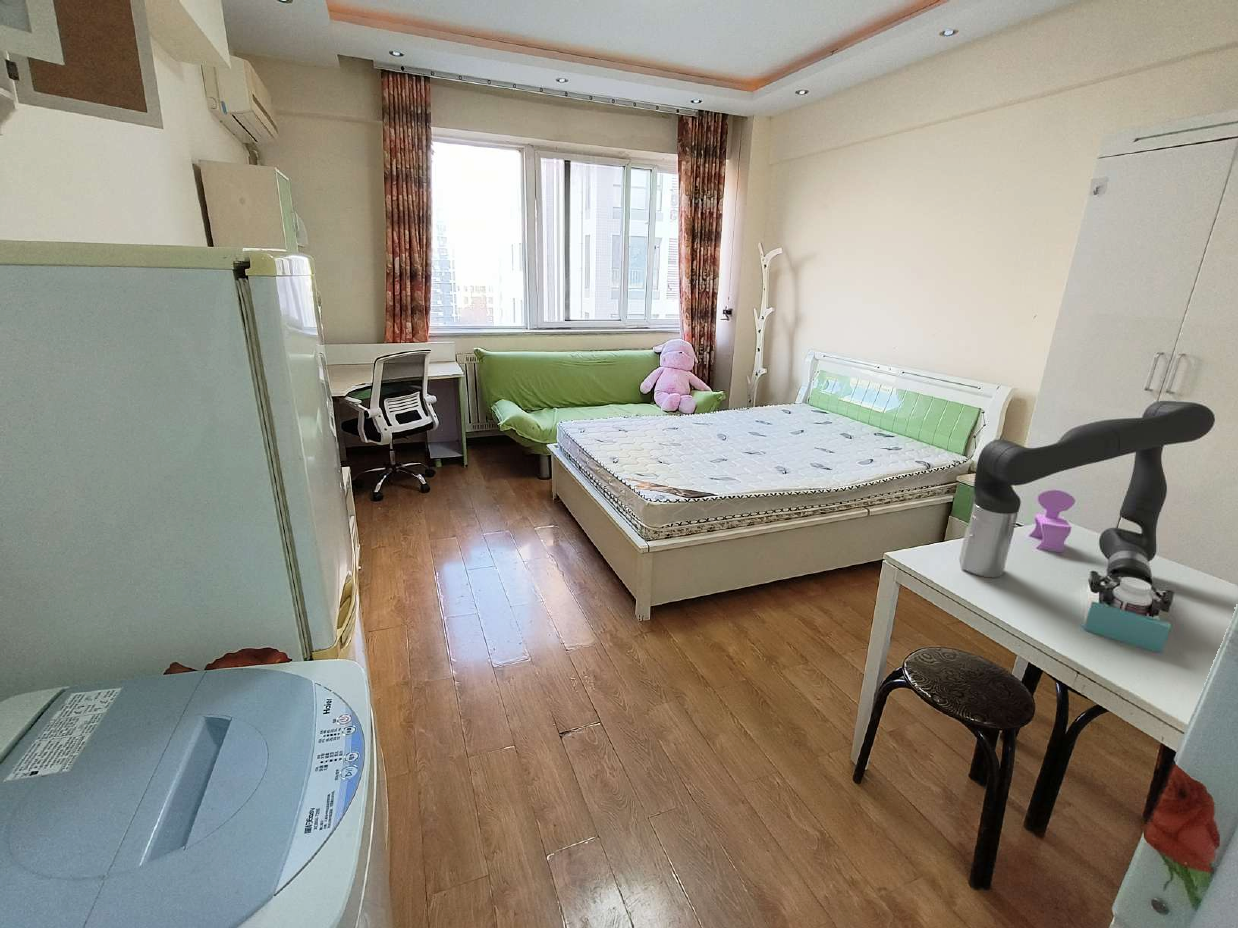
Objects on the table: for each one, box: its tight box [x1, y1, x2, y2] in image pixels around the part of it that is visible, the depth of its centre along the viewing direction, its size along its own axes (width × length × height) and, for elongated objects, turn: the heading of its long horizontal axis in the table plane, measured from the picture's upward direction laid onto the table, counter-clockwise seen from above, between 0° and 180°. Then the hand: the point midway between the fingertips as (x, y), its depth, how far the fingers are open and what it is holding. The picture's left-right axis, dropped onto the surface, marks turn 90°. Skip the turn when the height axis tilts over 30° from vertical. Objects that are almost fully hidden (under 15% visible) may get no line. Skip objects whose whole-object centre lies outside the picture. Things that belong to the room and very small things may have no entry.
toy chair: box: [1028, 489, 1076, 553], centre depth 152 cm, size 8×9×15 cm
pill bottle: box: [1107, 577, 1152, 616], centre depth 117 cm, size 6×6×11 cm
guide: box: [1083, 582, 1171, 654], centre depth 122 cm, size 20×12×6 cm, turn 141°
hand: (1130, 606), depth 115 cm, fingers closed on pill bottle, 6 cm apart
